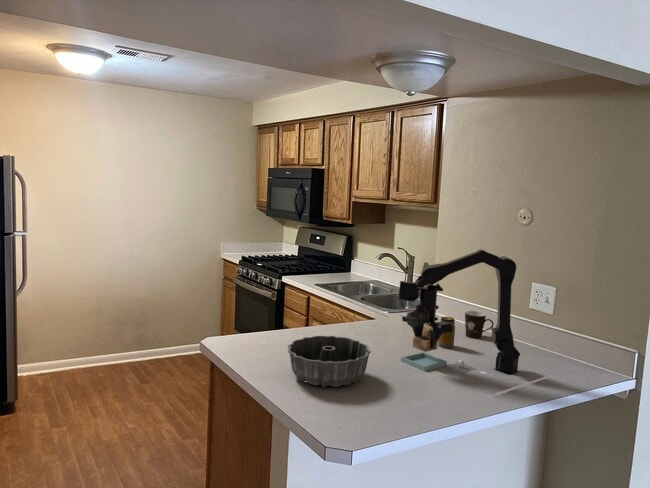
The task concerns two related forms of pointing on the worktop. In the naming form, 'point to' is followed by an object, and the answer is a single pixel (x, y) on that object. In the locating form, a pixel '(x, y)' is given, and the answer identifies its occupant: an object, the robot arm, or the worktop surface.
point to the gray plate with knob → (461, 367)
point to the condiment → (447, 335)
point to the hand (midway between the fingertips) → (425, 346)
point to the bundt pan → (328, 360)
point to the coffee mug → (475, 324)
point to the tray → (423, 361)
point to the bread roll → (426, 330)
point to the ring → (423, 343)
